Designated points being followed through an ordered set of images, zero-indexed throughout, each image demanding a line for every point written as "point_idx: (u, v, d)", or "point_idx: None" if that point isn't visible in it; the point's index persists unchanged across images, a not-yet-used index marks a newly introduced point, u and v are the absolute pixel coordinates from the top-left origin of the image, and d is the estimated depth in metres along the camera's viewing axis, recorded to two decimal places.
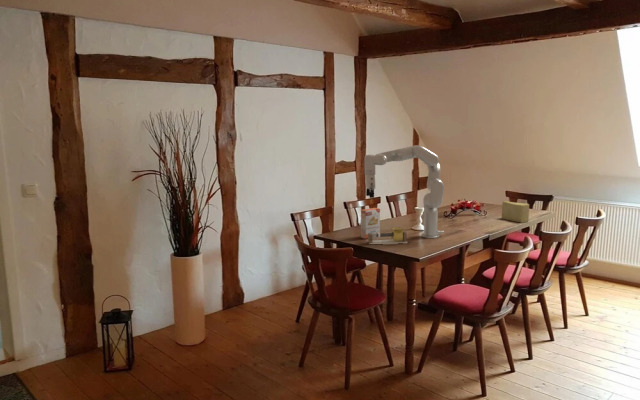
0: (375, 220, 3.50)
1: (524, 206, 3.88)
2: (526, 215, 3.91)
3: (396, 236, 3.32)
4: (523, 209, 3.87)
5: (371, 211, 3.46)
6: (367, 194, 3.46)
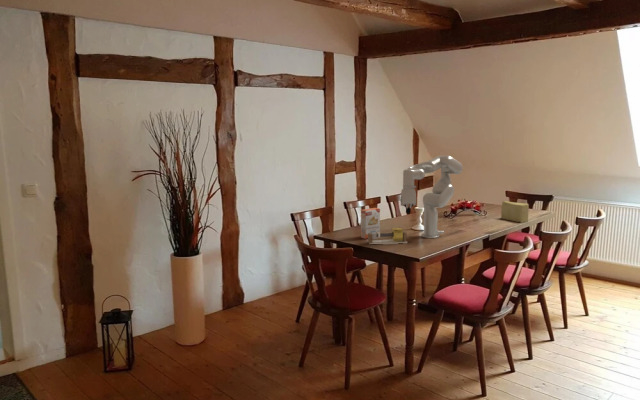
0: (375, 220, 3.50)
1: (524, 206, 3.88)
2: (526, 215, 3.91)
3: (396, 236, 3.32)
4: (523, 209, 3.88)
5: (371, 211, 3.46)
6: None
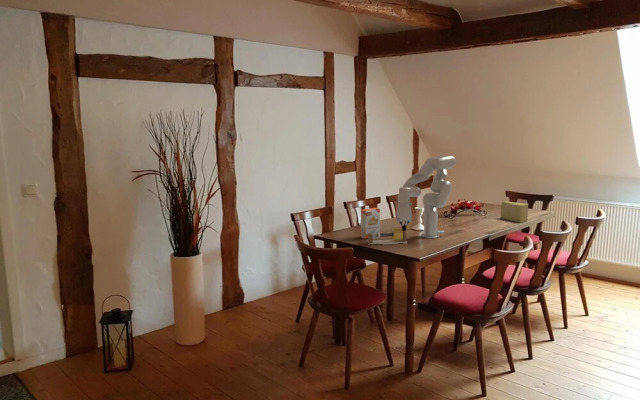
0: (375, 220, 3.50)
1: (523, 206, 3.88)
2: (525, 215, 3.91)
3: (396, 236, 3.32)
4: (522, 209, 3.88)
5: (371, 211, 3.46)
6: None
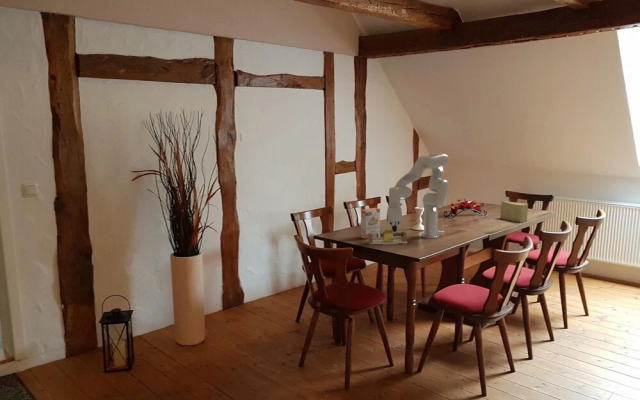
0: (375, 220, 3.50)
1: (523, 206, 3.89)
2: (525, 215, 3.92)
3: (386, 236, 3.31)
4: (522, 209, 3.88)
5: (371, 211, 3.46)
6: None
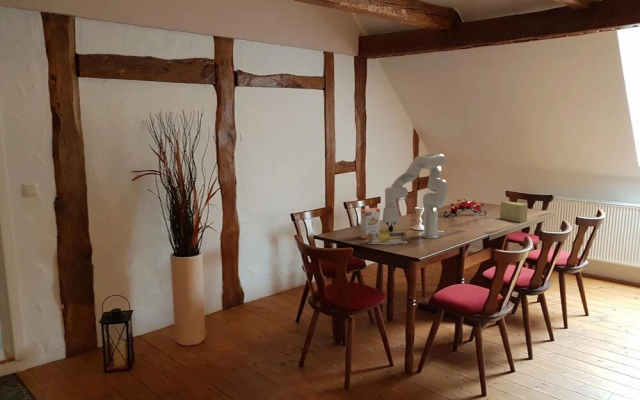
0: (375, 220, 3.50)
1: (522, 206, 3.89)
2: (525, 215, 3.92)
3: (383, 237, 3.31)
4: (521, 209, 3.89)
5: (371, 211, 3.46)
6: None
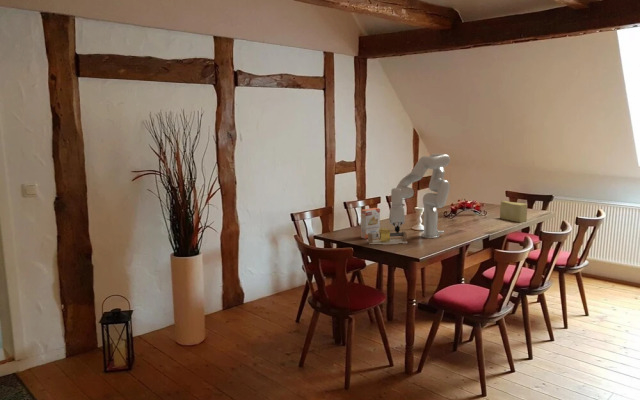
0: (375, 220, 3.50)
1: (522, 206, 3.89)
2: (524, 215, 3.92)
3: (383, 237, 3.31)
4: (521, 209, 3.89)
5: (371, 211, 3.46)
6: None
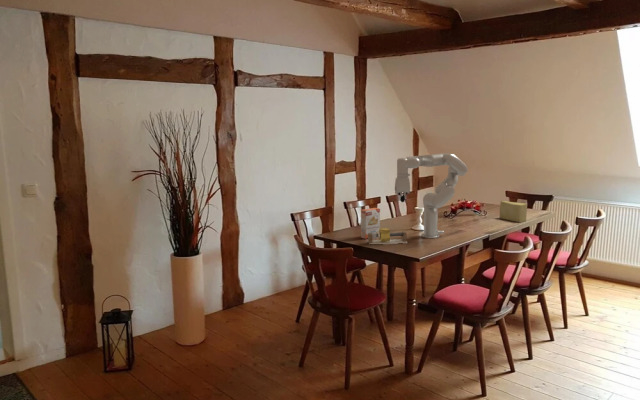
0: (375, 220, 3.50)
1: (522, 206, 3.89)
2: (524, 215, 3.92)
3: (383, 237, 3.31)
4: (521, 209, 3.89)
5: (371, 211, 3.46)
6: None
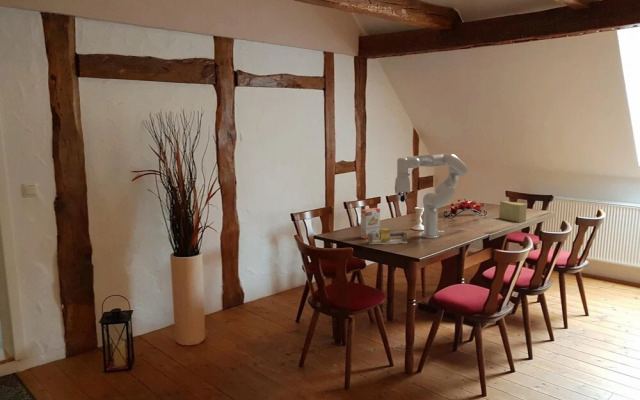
0: (375, 220, 3.50)
1: (521, 206, 3.89)
2: (524, 215, 3.93)
3: (383, 237, 3.31)
4: (520, 209, 3.89)
5: (371, 211, 3.46)
6: None
